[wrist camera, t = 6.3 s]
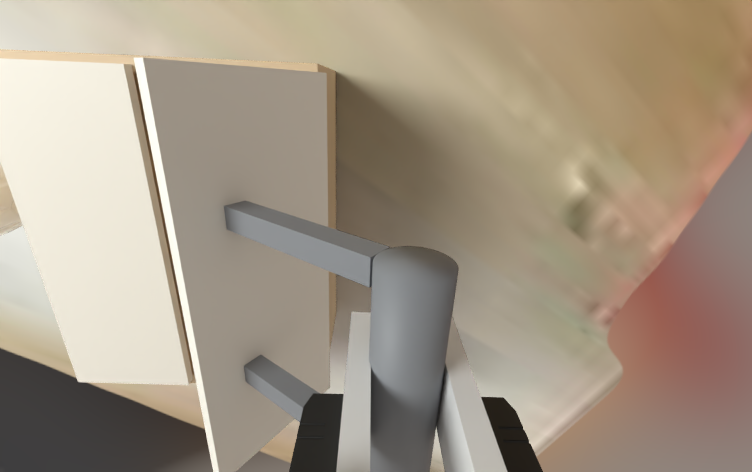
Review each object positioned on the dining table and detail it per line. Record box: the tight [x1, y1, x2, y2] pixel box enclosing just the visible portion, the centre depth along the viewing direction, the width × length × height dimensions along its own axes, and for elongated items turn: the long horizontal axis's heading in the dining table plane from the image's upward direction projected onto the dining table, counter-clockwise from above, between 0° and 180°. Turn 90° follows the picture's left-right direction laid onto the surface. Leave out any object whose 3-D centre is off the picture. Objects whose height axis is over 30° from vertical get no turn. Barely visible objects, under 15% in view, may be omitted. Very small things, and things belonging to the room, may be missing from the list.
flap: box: [134, 58, 458, 472], centre depth 15 cm, size 19×8×10 cm
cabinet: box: [0, 49, 336, 385], centre depth 25 cm, size 20×16×10 cm
